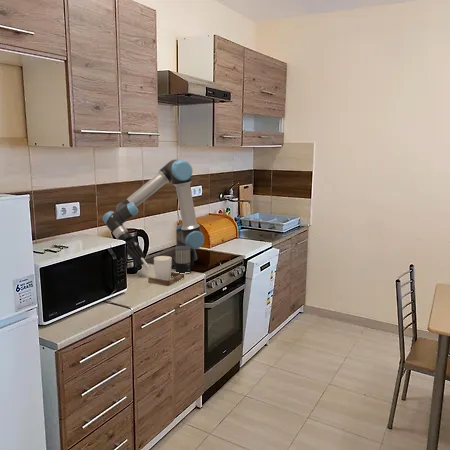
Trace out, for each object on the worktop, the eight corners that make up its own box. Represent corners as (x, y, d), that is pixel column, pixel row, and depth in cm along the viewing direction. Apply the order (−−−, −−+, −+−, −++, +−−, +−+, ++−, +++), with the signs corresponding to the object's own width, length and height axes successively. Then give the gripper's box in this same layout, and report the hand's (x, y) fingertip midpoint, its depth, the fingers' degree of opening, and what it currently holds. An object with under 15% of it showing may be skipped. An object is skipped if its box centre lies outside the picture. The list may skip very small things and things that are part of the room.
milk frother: (187, 275, 244) (187, 249, 241) (161, 272, 248) (161, 247, 246) (196, 268, 257) (196, 244, 255) (171, 266, 262) (171, 242, 259)
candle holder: (153, 277, 238) (153, 256, 236) (171, 276, 240) (171, 255, 238) (154, 282, 229) (154, 260, 227) (172, 281, 231) (172, 259, 229)
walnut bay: (164, 275, 243) (164, 271, 242) (184, 278, 237) (184, 274, 237) (148, 282, 229) (148, 277, 229) (168, 285, 223) (168, 281, 223)
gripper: (126, 237, 249) (150, 269, 245) (111, 241, 237) (136, 275, 233) (133, 229, 246) (158, 261, 241) (118, 233, 234) (144, 267, 230)
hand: (147, 268), depth 237 cm, fingers closed
